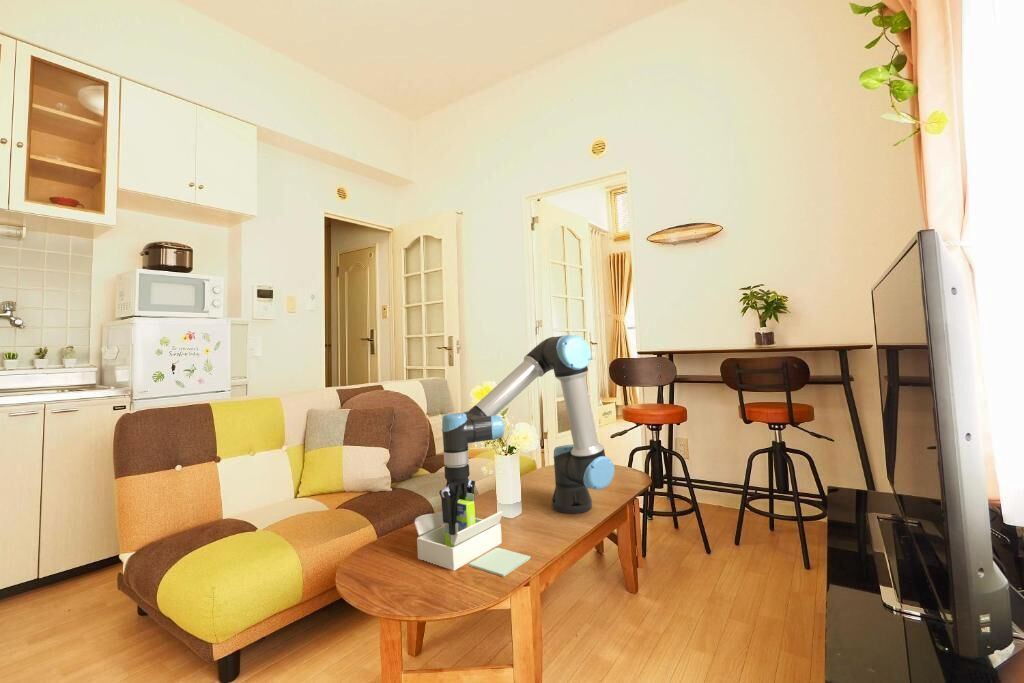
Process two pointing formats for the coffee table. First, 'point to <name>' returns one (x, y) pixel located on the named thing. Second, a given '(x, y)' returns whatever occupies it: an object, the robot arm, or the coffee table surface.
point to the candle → (422, 518)
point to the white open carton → (456, 547)
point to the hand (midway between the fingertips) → (460, 541)
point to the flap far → (429, 522)
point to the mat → (499, 561)
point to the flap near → (477, 528)
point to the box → (462, 517)
